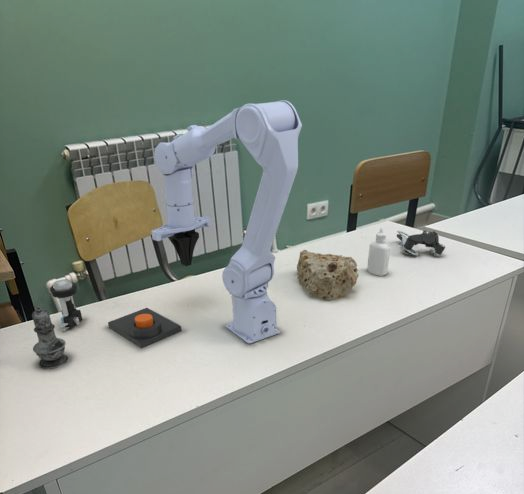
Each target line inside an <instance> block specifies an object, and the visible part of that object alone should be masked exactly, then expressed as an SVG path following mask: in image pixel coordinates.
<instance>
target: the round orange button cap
mask: <svg viewBox="0 0 524 494" xmlns="http://www.w3.org/2000/svg"><path fill="white" fill-rule="evenodd" d="M135 324H136V327H137V328H148V327H151V326H153V317H152V315H150V314H140V315H138V316H136V317H135Z"/></svg>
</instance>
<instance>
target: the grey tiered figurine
mask: <svg viewBox="0 0 524 494" xmlns="http://www.w3.org/2000/svg"><path fill="white" fill-rule="evenodd" d="M31 317H32V320H33V321H32V322H33V324H34V328H33V332H35V333H36V335H37V339H38V342H37V343H35V344H34V345H33V346H32V351H33V352H34V353H35V354H36V356H37V357H38V358H39V359H41V360H40V361H38V362H39V363H38V365H39V367H40V368H41V369H44V370H45V369H46V370H53V369H57V368H58V367H61V366H63V365H65V364H66V363H68V360H69V356H68V355H66V354H64V353H65V349H66V343H67V342H66V341H65V339H63V338H60V337H57V336H56V332H55V328H56V326H55V324H53V323H52V319H51V316H50V312H49V311H48V310H47V309H44V308H41V306H40V305H37V306H36V310H34V311H32V313H31Z"/></svg>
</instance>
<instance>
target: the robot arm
mask: <svg viewBox="0 0 524 494" xmlns="http://www.w3.org/2000/svg"><path fill="white" fill-rule="evenodd" d="M302 127H303V123H302V121H301V119H300V116H299V114H298V112H297V110H296V107H295V106H294V105H293V104H292V103H291V102H290V101H289V100H285V99H280V100H277V101H271V102H261V103H246V104H243V105H242V106H241V107H236V108H233V109H232V111H231V112H229V113H228V114H226V115H225V116H223V117H222V118H220V119H219V120H217V121H216V122H214V123H213V124H211V125H210V126H208V127H205V126H202V125H197V124H193V125H189V126H188V127H187V131H185V132H184V133H183V134H177V135H174V136H173V138H172V139H173V140H172V141H169V142H159V143H158V145H156V146H155V149H154V153H153V155H154V156H153V158H154V164H155V166H156V167H157V169H158V170H159V172H160V173H161V174H162V180H163V181H162V182H163V188H164V197H165V205H166V213H167V223H166V224H164V225H162V226H160V227H158V228H155V229H151V232H150V233H151V239H152V240H153V241H156V242H160V241H162V240H164V239H168V240H169V241H170V243H171V244H172V246H173V247H174V249H175V251H176V254H177V256H178V259H179V261H180V264H181V265H182V266H185V267H189V266H192V263H193V262H192V261H193V256H194V250H195V249H196V245H197V242H198V240H199V238H200V233H199V232H198V231H196V230H199V229H203V228H210V227H212V218H211V217H209V216H205V215H203V216H200V217H196V214H195V213H196V212H195V204H194V192H193V183H192V179H193V176H194V168H195V167H196V165H197V164H199V163H201V162H203V161H205V160H207V159H209V158H211V157H213V156H214V154H215V151H216V148H217V147H218V146H219V145H222V144H223V143H226V142H228V141H230V140H233V139H235V140H240V141H241V143H242V145H244V147H245V148H246V151H248V152H249V154H250V155H251V156H252V158H253V160H254V161H255V162H256V163H257V164H258V165H259V166H261V168H262V174H261V178H260V181H259V185H258V189H257V191H256V192H257V193H256V196H255V198H254V201H253V202H254V203H253V205H252V210H251V212H250V216H249V220H248V222H247V227H246V230H245V234H244V236H243V240H242V244H241V246H240V247H239V249H238V250H236V252H235V253H234V254H233V255H232V256H231V258H230V260H229V263H228V265H227V266H225V268H223V271H222V283H223V287H224V288H225V290H226V291H227V292H228V294H229V295H231V306H232V321H233V322H230V323H229V322H228V323H227V324H225V328H226V329H228V330H229V331H231V332H232V333H233V334H235V335H236V336H237V337H239V338H240V339H241V340H243V341H244V342H246V343H247V344H248V345H249V344H253V343H257V342H259V341H261V340H264V339H268V338H270V337H274V336H275V335H277V334H280V332H281V331H280V330H279V329H278V328H277V305H276V304H275V302H274V301H273V300H272V299H271V298H270V297H269V294H268V291H267V289H268V288H269V283H270V282H271V281H272V280H273V278H274V275H275V267H274V266H275V260H276V256H275V255H274V253H273V252H272V251H271V250H272V247H273V243H274V241H275V238H276V235H277V231H278V229H279V226H280V223H281V220H282V217H283V214H284V211H285V208H286V206H287V203H288V199H289V196H290V195H291V194H290V193H291V190H292V187H293V184H294V181H295V179H296V176H297V173H298V169H299V136H300V134H301V131H302ZM216 146H217V147H216Z"/></svg>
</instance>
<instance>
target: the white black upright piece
mask: <svg viewBox="0 0 524 494" xmlns="http://www.w3.org/2000/svg"><path fill="white" fill-rule="evenodd" d="M77 286H78V285H77V284H76V283H75V282H72V280H70V279H67V278H66V279H65V278H64V279H59V280H55V281H53V283H52V286H50V287H49V291H50V293H51V295H52V297H53V298H56V299H58V300H59V303H60V308H61V311H60V312H61V314H62V315H61V317H60V322H61V325H60V328H62V329H61V332H65V331H66V330H72V329H73V328H74V327H75V326H79V325H80V322H82V321H83V315H82V310H81V309H77V308H76V305H75V302H74V301H75V300H74V298H73V297H74V296H75V295H76V293H77V291H78V290H77Z"/></svg>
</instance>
